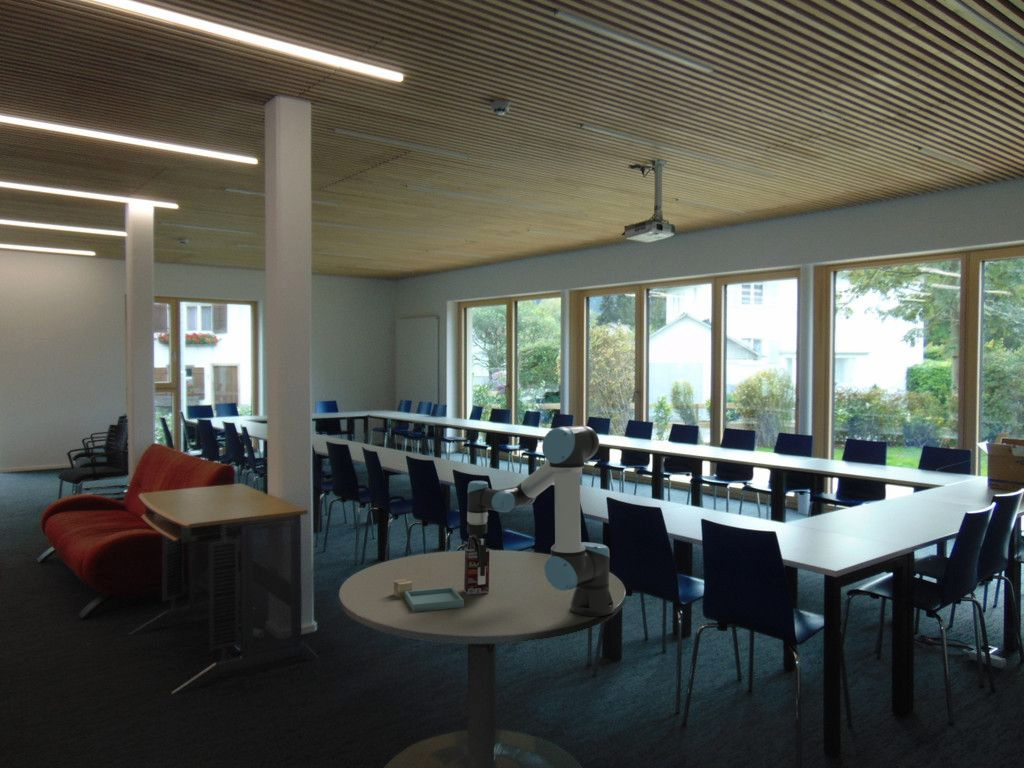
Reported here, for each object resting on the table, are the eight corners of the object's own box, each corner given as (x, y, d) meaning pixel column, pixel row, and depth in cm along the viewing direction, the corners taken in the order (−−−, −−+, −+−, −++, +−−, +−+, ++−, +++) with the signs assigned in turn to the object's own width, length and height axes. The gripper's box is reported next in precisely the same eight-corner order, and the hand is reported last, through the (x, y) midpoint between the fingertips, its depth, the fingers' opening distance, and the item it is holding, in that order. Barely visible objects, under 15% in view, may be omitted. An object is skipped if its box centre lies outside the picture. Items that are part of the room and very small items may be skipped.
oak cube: (411, 595, 276) (411, 582, 275) (399, 598, 273) (399, 584, 273) (405, 592, 280) (405, 579, 280) (393, 594, 277) (393, 581, 277)
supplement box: (467, 595, 277) (467, 552, 276) (463, 591, 281) (464, 549, 281) (489, 593, 279) (489, 551, 279) (486, 589, 284) (486, 547, 283)
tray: (463, 606, 263) (463, 599, 263) (413, 611, 257) (413, 604, 257) (452, 593, 278) (452, 586, 278) (404, 598, 272) (404, 591, 272)
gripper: (496, 529, 269) (495, 587, 270) (477, 515, 293) (476, 569, 293) (476, 530, 267) (475, 589, 267) (459, 516, 290) (458, 570, 291)
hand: (476, 579), depth 280 cm, fingers open, 13 cm apart
